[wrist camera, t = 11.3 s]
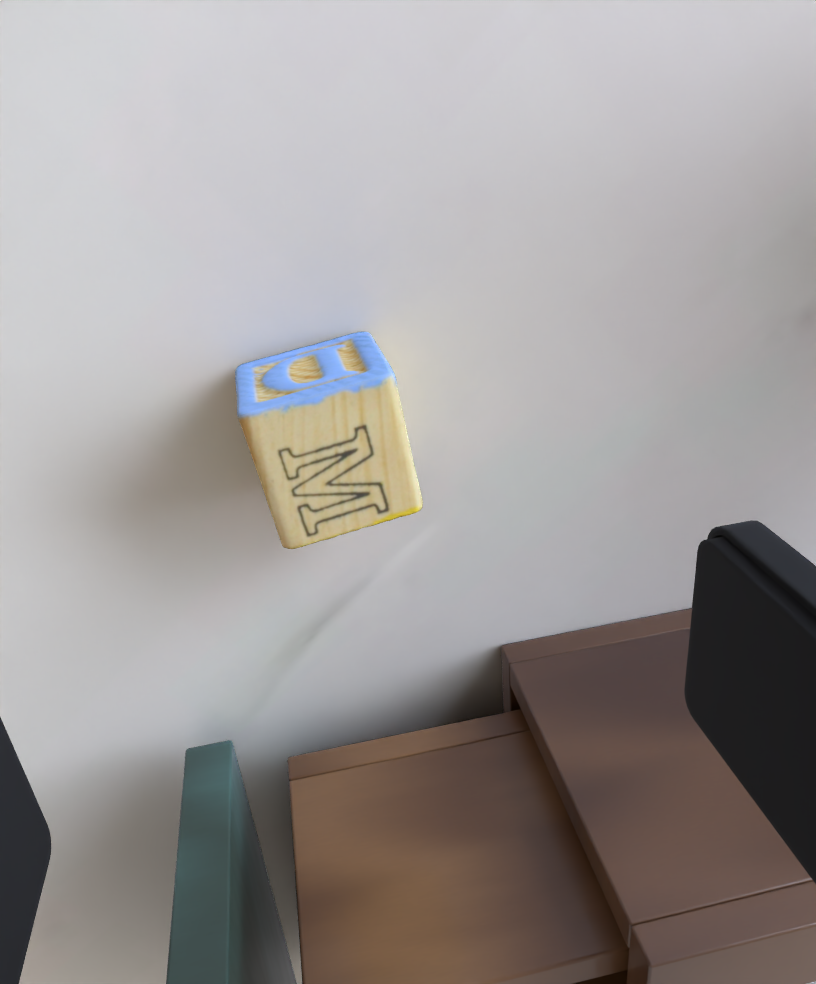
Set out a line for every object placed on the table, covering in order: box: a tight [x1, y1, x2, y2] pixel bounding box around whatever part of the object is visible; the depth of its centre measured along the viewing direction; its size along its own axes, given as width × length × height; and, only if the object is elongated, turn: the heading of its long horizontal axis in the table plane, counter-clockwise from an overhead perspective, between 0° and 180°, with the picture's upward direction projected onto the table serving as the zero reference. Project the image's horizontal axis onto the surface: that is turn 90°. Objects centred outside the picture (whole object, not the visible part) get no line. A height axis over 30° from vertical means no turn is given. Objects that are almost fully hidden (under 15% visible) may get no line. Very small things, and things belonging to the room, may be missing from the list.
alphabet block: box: [235, 332, 423, 549], centre depth 16 cm, size 3×3×3 cm
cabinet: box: [501, 608, 816, 984], centre depth 22 cm, size 14×13×9 cm
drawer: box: [166, 709, 629, 984], centre depth 20 cm, size 18×11×7 cm, turn 95°
